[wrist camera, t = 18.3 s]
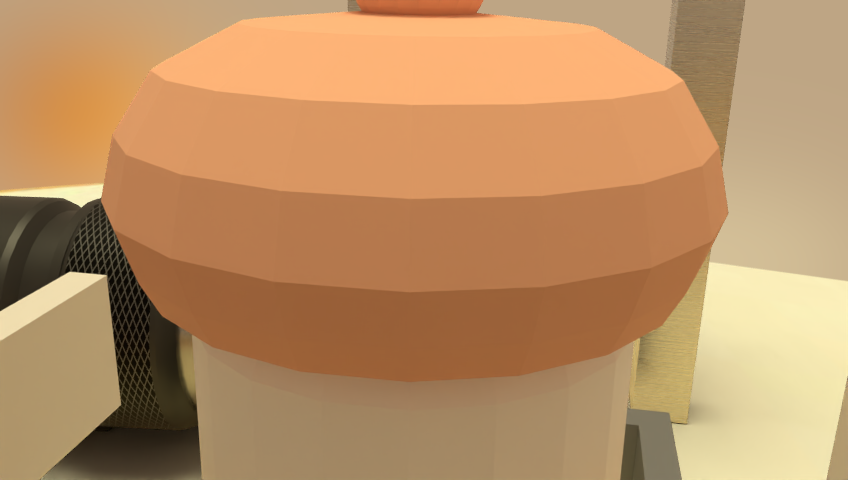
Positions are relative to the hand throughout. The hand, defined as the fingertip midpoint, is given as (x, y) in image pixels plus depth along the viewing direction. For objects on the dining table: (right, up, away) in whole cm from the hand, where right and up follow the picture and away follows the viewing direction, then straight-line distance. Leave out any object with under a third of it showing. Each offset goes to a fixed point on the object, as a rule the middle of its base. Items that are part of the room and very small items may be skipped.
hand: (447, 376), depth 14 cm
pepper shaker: (-1, -13, +1) cm, 13 cm away
